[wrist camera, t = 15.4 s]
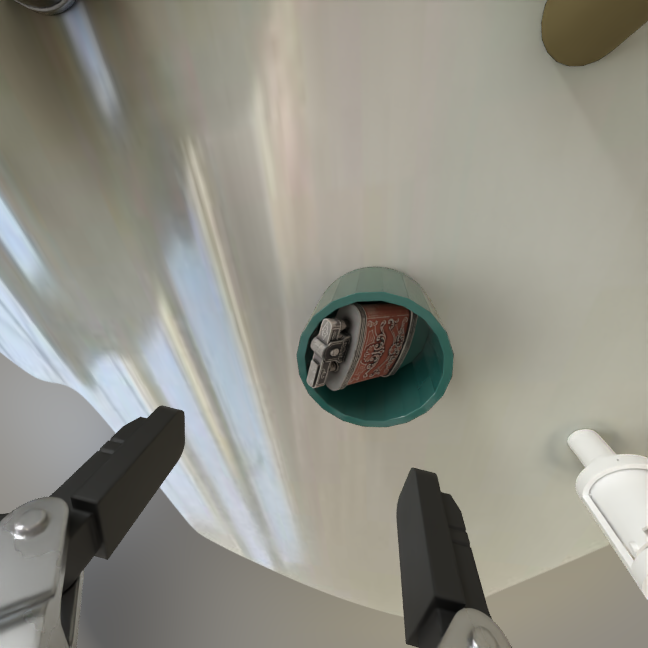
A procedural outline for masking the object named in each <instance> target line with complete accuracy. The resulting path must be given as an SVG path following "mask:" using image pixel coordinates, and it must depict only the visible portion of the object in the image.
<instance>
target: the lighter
mask: <svg viewBox="0 0 648 648" xmlns="http://www.w3.org/2000/svg"><path fill="white" fill-rule="evenodd" d="M417 317H418V315H416V314H415V313H413V312H412V311H410V310H409V309H407V308H405V307H403V306H400V305H396V304H392V303H378V304H358V303H353V304H350V305H347V306H344V307H341V308H339V310H338V312H337V315H336V317H335V318H328V319H324V320H323V321H322V324H321V328H320V332H319V334H318V335H317V336H316V337H315V338H313V340H312V342H311V349H312V350H313V351H314V355H313V359H312V361H311V365H310V368H309V372H308V376H307V383H308V384H309V385H310V386H311V387H312V388H317V387H321V386H324V385H325V384H326V386H327V387H328V388H329V389H331V390H333V391H336V390H340V389H343V388H345V387H346V385H350V384H354V383H357V382H361V381H365V380H368V379H372V378H376V377H380V376H382V377H387V376H391V375H394V374H395V373H396V371H397V370H398V368H399V367H400V365H401V364H402V362H403V360H404V358H405V356H406V354H407V352H408V350H409V348H410V345H411V341H412V338H413V335H414V332H415V327H416V322H417Z"/></svg>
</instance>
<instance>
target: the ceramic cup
mask: <svg viewBox="0 0 648 648" xmlns="http://www.w3.org/2000/svg"><path fill="white" fill-rule="evenodd" d="M353 303H358V304H378V303H392V304H396V305H400V306H403V307H405V308H407V309H409V310H410V311H412V312H413V313H415V314H416V315H418V317H417V322H416V327H415V332H414V335H413V338H412V341H411V345H410V348H409V350H408V352H407V354H406V356H405V358H404V360H403V362H402V364H401V365H400V367H399V368H398V370H397V371H396V373H395V374H394V375H391V376H387V377H382V376H380V377H376V378H372V379H368V380H365V381H361V382H357V383H354V384H350V385H346V387H345V388H343V389H340V390H336V391H333V390H331V389H329V388H328V387H327V386H326V384H325V385H324V386H321V387H317V388H312V387H311V386H310V385H309V384H308V383H307V376H308V372H309V368H310V365H311V361H312V359H313V355H314V351H313V350H312V349H311V342H312V340H313V338H315V337H316V336H317V335H318V334H319V332H320V328H321V324H322V321H323V320H324V319H328V318H335V317H336V315H337V312H338V310H339V308H341V307H344V306H347V305H350V304H353ZM453 357H454V354H453V350H452V347H451V344H450V341H449V338H448V335H447V332H446V330H445V328H444V326H443V324H442V322H441V320H440V318H439V316H438V314H437V312H436V310H435V308H434V306H433V304H432V302H431V299H430V298H429V297H428V295H427V294H426V292H425V291H424V290H423V288H422V287H421V286H420V285H419V284H418V283H417V282H416V281H414V280H413V279H412V278H410V277H409V276H407V275H405V274H404V273H401V272H399V271H396V270H393V269H389V268H383V267H367V268H361V269H357V270H354V271H351V272H349V273H347V274H345V275H343V276H341V277H340V278H338V279H337V280H336V281H334V282H333V283H332V284H331V285H330V286H329V287H328V289H327V290H326V291H325V293H324V294H323V296H322V298H321V299H320V301H319V302H318V304H317V306H316V308H315V310H314V312H313V313H312V315H311V317H310V319H309V321H308V323H307V325H306V327H305V328H304V330H303V332H302V334H301V337H300V342H299V346H298V351H297V362H298V369H299V375H300V378H301V380H302V382H303V384H304V386H305V388H306V389H307V391H308V393H309V395H310V396H311V397H312V398H313V399H314V400H315V401H316V402H317V403H318V404H319V405H320V406H321V407H322V408H323V409H324V410H325V411H327V412H329V413H331V414H332V415H334V416H336V417H337V418H339V419H341V420H342V421H346V422H349V423H353V424H356V425H360V426H364V427H389V426H394V425H398V424H403V423H407V422H409V421H411V420H413V419H415V418H417V417H418V416H420V415H422V414H424V413H426V412H427V411H429V410H430V408H431V407H432V406H433V405H434V404H435V403H436V402H437V401H438V400H439V399H440V398H441V397H442V396H443V395H444V393H445V390H446V388H447V386H448V384H449V382H450V380H451V378H452V371H453Z"/></svg>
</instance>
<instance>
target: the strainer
mask: <svg viewBox="0 0 648 648" xmlns="http://www.w3.org/2000/svg"><path fill="white" fill-rule="evenodd" d="M567 443H568V445H569V447H570V448H571V449H572V451H573V452H574V453H575V455H576V456H577V457H578V459H579V460H580V461H581V463H582V464H583V465H584V467H585V468H584V469H583V470H582V471H581V473H580V474H579V476H578V477H577V480H576V485H575V487H576V492H577V494H578V496H579V497H580V499H581V500H582V502H583V503H584V505H585V506H586V508H587V509H588V511H589V512H590V514H591V515H592V517H593V518H594V520H595V521H596V523H597V524H598V526H599V527H600V529H601V530H602V532H603V533H604V535H605V536H606V538H607V540H608V541H609V543H610V544H611V546H612V547H613V549H614V550H615V552H616V553H617V555H618V556H619V558H620V559H621V561H622V562H623V564H624V565H625V567H626V568H627V570H628V571H629V573H630V574H631V576H632V577H633V579H634V581H635V582H636V583H637V585H638V587H639V588H640V590H641V591H642V593H643V594H644V596H645V597H646V599H647V600H648V458H647V457H644V456H640V455H634V454H619V455H617V454H616V453H615V452H614V451H613V450H612V449H611V448H610V446H609V445H608V444H607V443H606V442H605V441H604V440H603V439H602V437H601V436H600V435H599V434H598V433H597V432H596V431H594V430H590V429H581V430H578V431H575V432H573V433H572V434H571V435H570V436H569V438H568V441H567ZM627 551H628V552H629V553H630V554H631V555H632V556H634V557H635V560H633V559H632V557H631V556H630V555H629V553H628V552H627Z"/></svg>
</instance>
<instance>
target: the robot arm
mask: <svg viewBox="0 0 648 648" xmlns="http://www.w3.org/2000/svg"><path fill="white" fill-rule="evenodd" d="M15 1H16V2H18V3H19V4H21V5H23V6H25V7H27V8H29V9H31V10H33V11H35V12H38V13H41V14H49V15H50V14H57V13H60V12H63V11H65V10H66V9H68V8H69V7H70V6H72V4H73V3H74V2H75V1H76V0H15ZM184 445H185V416H184V412H183V411H182V410H178V409H174V408H170V407H166V406H159V407H158V408H157V409H156V410H155V411H154V412H153V413H152V414H151V415H150V416H149V417H148V418H143V417H139V418H138V419H136V420H134V421H132V422H130V423H128V424H127V425H125V426H123V427H122V428H121V429H120V430H119V431H118V432H117V433H116V434H115V435H114V436H113V437H112V438H111V440H110V441H108V442H106V444H104V445H103V446H102V447H101V448H100V451H97V452H96V453H95V454H94V455H93V456H92V457H91V458H90V459H89V460H88V461H87V462H86V463H85V464H83V465H82V466H81V467H80V468H79V469H78V470H77V471H76V472H75V473H74V474H73V475H72V476H71V477H70V478H69V479H68V480H67V481H66V482H65V483H64V484H63V485H61V487H59V488H58V489H57V490H56V491H55V492H54V493H53V494H52V495H50V496H49V497H43V498H38V499H35V500H32V501H30V502H27V503H25V504H23V505H21V506H19V507H18V508H16V509H15V510H13V511H12V512H10V513H7V514H0V648H77V639H78V629H79V618H80V607H81V597H82V588H83V577H84V568H85V567H86V566H87V564H88V563H89V562H90V560H91V559H92V557H93V556H97V557H100V558H104V559H107V560H108V558H109V557H110V556H111V554H112V553H113V551H114V550H115V549H116V547H117V546H118V544H119V543H120V542H121V540H122V539H123V538H124V536H125V535H126V533H127V532H128V531H129V529H130V528H131V526H132V525H133V523H134V522H135V521H136V519H137V518H138V516H139V515H140V514H141V512H142V511H143V509H144V508H145V507H146V505H147V504H148V502H149V501H150V500H151V498H152V497H153V495H154V494H155V493H156V491H157V490H158V488H159V487H160V486H161V484H162V483H163V481H164V480H165V479H166V477H167V476H168V474H169V473H170V472H171V470H172V469H173V467H174V466H175V465H176V463H177V462H178V460H179V458H180V457H181V454H182V452H183V449H184ZM397 530H398V543H399V557H400V570H401V583H402V597H403V610H404V624H405V637H406V644H408V645H412V646H416V647H419V648H512V647H511V645H510V643H509V641H508V639H507V638H506V636H505V634H504V633H503V631H502V630H501V629H500V628H499V626H498V625H497V624H496V623H495V622H494V621H493V620H492V618H491V616H490V614H489V611H488V608H487V604H486V601H485V597H484V593H483V590H482V586H481V582H480V579H479V575H478V571H477V568H476V564H475V561H474V557H473V553H472V550H471V548H470V542H469V539H468V535H467V533H466V528H465V524H464V521H463V517H462V513H461V511H460V509H459V507H458V506H457V504H456V503H455V501H454V500H453V498H452V496H451V495H450V494H446V493H442V492H441V491H440V486H439V482H438V478H437V475H436V474H435V473H432V472H428V471H424V470H420V469H416V468H411V470H410V472H409V474H408V477H407V479H406V482H405V484H404V486H403V489H402V491H401V494H400V496H399V499H398V504H397Z"/></svg>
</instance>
